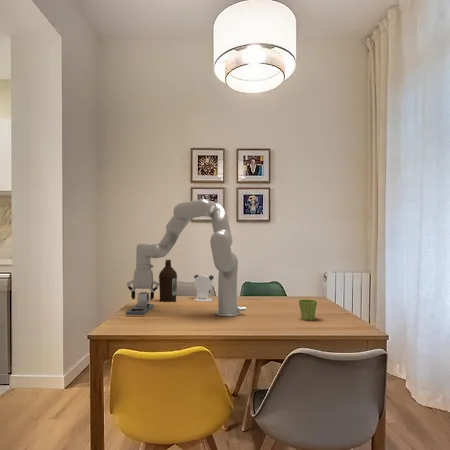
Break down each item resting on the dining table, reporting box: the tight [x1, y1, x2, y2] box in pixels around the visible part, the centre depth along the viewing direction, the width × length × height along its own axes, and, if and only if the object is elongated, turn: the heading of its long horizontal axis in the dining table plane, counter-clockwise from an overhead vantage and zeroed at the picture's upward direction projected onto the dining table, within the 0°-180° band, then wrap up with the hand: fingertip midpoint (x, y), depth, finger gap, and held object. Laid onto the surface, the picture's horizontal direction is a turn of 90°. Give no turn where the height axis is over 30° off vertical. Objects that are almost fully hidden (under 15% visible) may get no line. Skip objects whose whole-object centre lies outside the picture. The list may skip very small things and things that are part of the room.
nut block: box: [136, 291, 150, 307], centre depth 216 cm, size 5×5×8 cm
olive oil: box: [158, 259, 178, 303], centre depth 240 cm, size 11×11×25 cm
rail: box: [125, 303, 154, 318], centre depth 210 cm, size 9×22×2 cm, turn 178°
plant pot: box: [297, 299, 319, 321], centre depth 196 cm, size 9×9×9 cm
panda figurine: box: [193, 274, 215, 302], centre depth 250 cm, size 12×11×15 cm
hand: (142, 299), depth 216 cm, fingers open, 9 cm apart
